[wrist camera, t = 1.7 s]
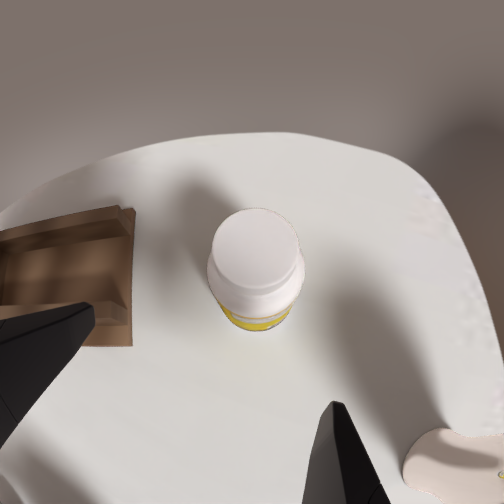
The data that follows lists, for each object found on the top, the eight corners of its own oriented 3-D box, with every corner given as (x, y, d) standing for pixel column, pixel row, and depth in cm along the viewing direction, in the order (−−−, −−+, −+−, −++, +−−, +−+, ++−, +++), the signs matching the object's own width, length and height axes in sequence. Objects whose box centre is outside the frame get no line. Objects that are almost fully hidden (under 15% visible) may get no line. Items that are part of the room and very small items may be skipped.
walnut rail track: (-2, 341, 20) (-27, 333, 16) (11, 236, 25) (-8, 221, 21) (132, 346, 20) (111, 340, 17) (135, 212, 25) (120, 189, 22)
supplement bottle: (224, 262, 23) (206, 191, 14) (292, 267, 23) (315, 198, 14) (216, 330, 21) (188, 298, 12) (289, 335, 21) (316, 307, 12)
